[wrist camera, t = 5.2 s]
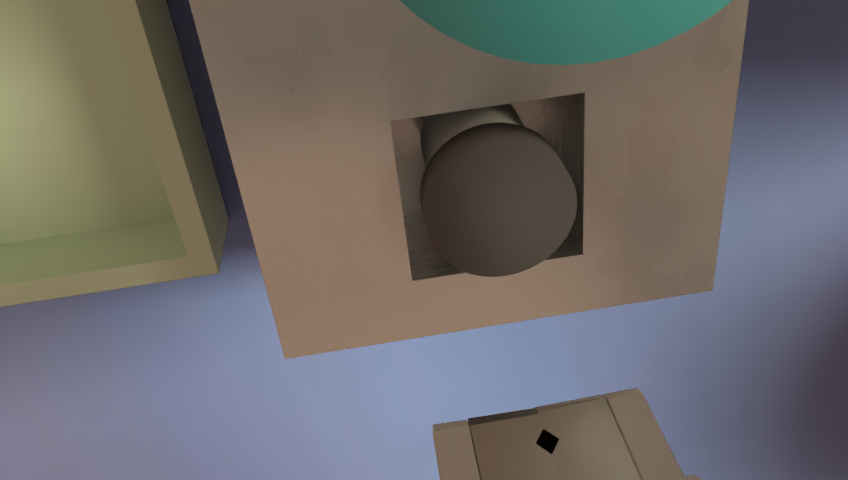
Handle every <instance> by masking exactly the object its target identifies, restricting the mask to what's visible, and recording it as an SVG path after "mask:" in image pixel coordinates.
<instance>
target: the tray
mask: <svg viewBox="0 0 848 480" xmlns="http://www.w3.org/2000/svg"><path fill="white" fill-rule="evenodd" d="M227 224H228V216H227V212H226V209H225V205H224V202H223V198H222V195H221V191H220V188H219V184H218V180H217V177H216V173H215V170H214V166H213V163H212V159H211V156H210V152H209V149H208V145H207V142H206V138H205V135H204V131H203V128H202V124H201V121H200V117H199V114H198V110H197V107H196V103H195V100H194V96H193V93H192V89H191V86H190V82H189V79H188V75H187V72H186V68H185V65H184V61H183V58H182V54H181V51H180V47H179V44H178V40H177V37H176V33H175V29H174V26H173V22H172V19H171V15H170V12H169V8H168V5H167V1H166V0H0V307H3V306H10V305H16V304H23V303H29V302H36V301H42V300H48V299H55V298H61V297H68V296H74V295H81V294H87V293H94V292H100V291H107V290H113V289H120V288H126V287H133V286H139V285H146V284H152V283H159V282H165V281H172V280H178V279H185V278H191V277H197V276H204V275H210V274H217V273H219V269H220V264H221V258H222V253H223V247H224V241H225V236H226V230H227Z"/></svg>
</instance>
